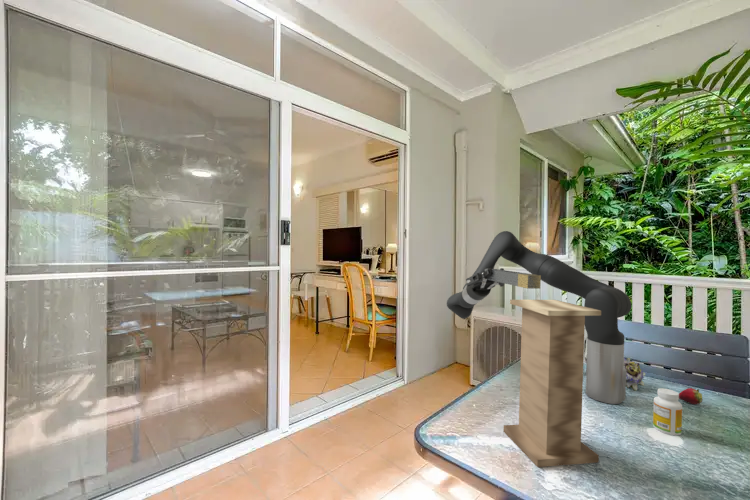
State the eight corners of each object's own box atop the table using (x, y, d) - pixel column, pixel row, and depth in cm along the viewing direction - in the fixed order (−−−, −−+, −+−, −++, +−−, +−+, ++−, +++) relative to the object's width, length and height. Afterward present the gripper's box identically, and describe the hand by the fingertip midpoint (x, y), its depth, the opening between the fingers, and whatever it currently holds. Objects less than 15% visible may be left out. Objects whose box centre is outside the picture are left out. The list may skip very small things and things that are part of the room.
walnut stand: (554, 427, 82) (558, 299, 82) (600, 463, 69) (605, 310, 68) (502, 430, 80) (506, 299, 80) (539, 468, 66) (543, 310, 66)
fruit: (681, 397, 101) (682, 381, 101) (706, 406, 96) (707, 389, 96) (673, 399, 100) (673, 383, 100) (698, 408, 94) (698, 391, 94)
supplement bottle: (674, 426, 84) (675, 388, 84) (686, 438, 79) (687, 397, 79) (648, 422, 86) (650, 385, 86) (658, 433, 81) (660, 394, 81)
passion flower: (633, 406, 106) (627, 381, 102) (599, 386, 116) (593, 363, 112) (655, 384, 109) (650, 359, 104) (620, 367, 119) (614, 343, 114)
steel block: (494, 279, 111) (494, 268, 111) (540, 288, 87) (540, 275, 87) (484, 279, 110) (484, 268, 110) (527, 288, 87) (527, 275, 87)
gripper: (455, 281, 121) (474, 259, 107) (491, 281, 123) (514, 260, 109) (459, 300, 118) (479, 281, 103) (496, 300, 120) (520, 281, 105)
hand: (497, 270), depth 106 cm, fingers closed on steel block, 3 cm apart
